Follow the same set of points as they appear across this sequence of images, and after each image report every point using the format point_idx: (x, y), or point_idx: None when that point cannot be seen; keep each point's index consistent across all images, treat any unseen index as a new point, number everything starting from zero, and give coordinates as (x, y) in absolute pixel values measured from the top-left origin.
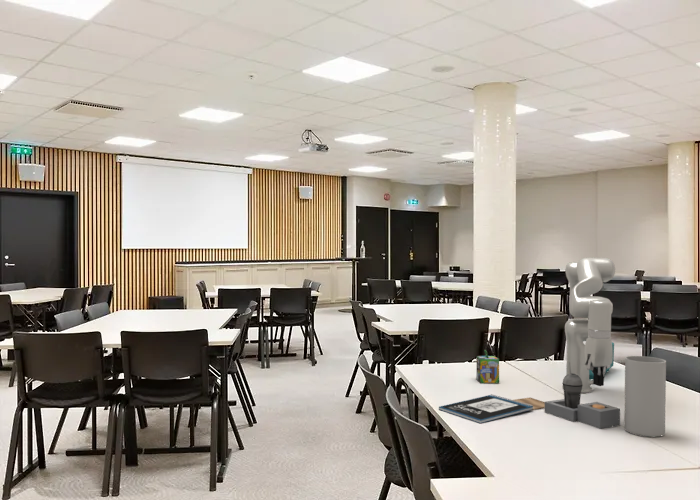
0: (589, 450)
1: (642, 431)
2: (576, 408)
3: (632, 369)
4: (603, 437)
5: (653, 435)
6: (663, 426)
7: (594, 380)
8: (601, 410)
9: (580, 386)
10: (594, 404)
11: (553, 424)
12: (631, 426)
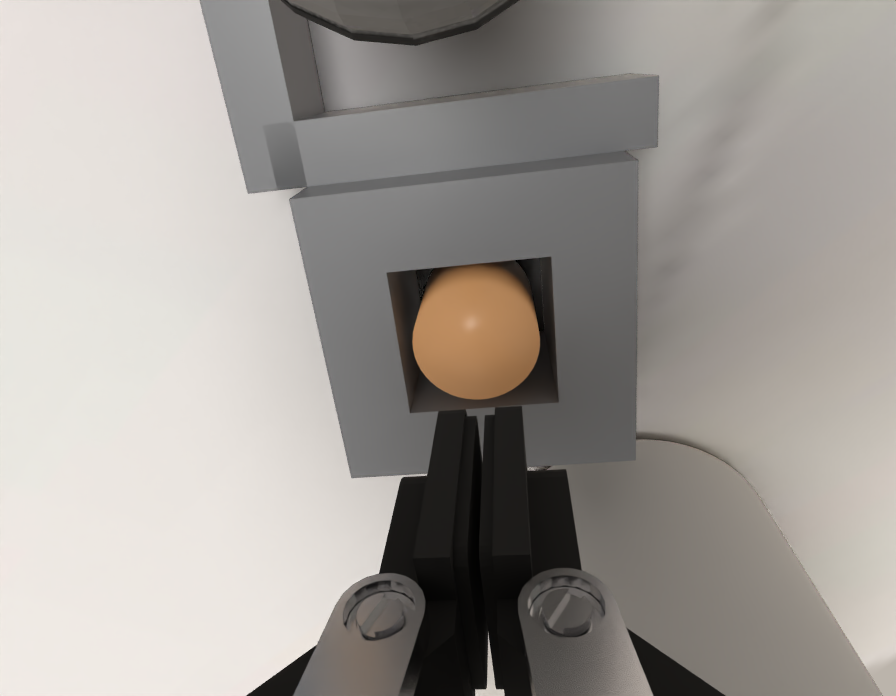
0: (54, 636)
1: None
2: (345, 118)
3: None
4: (269, 527)
5: None
6: None
7: (399, 507)
8: (392, 453)
9: (437, 38)
10: (473, 286)
11: (62, 178)
12: None
